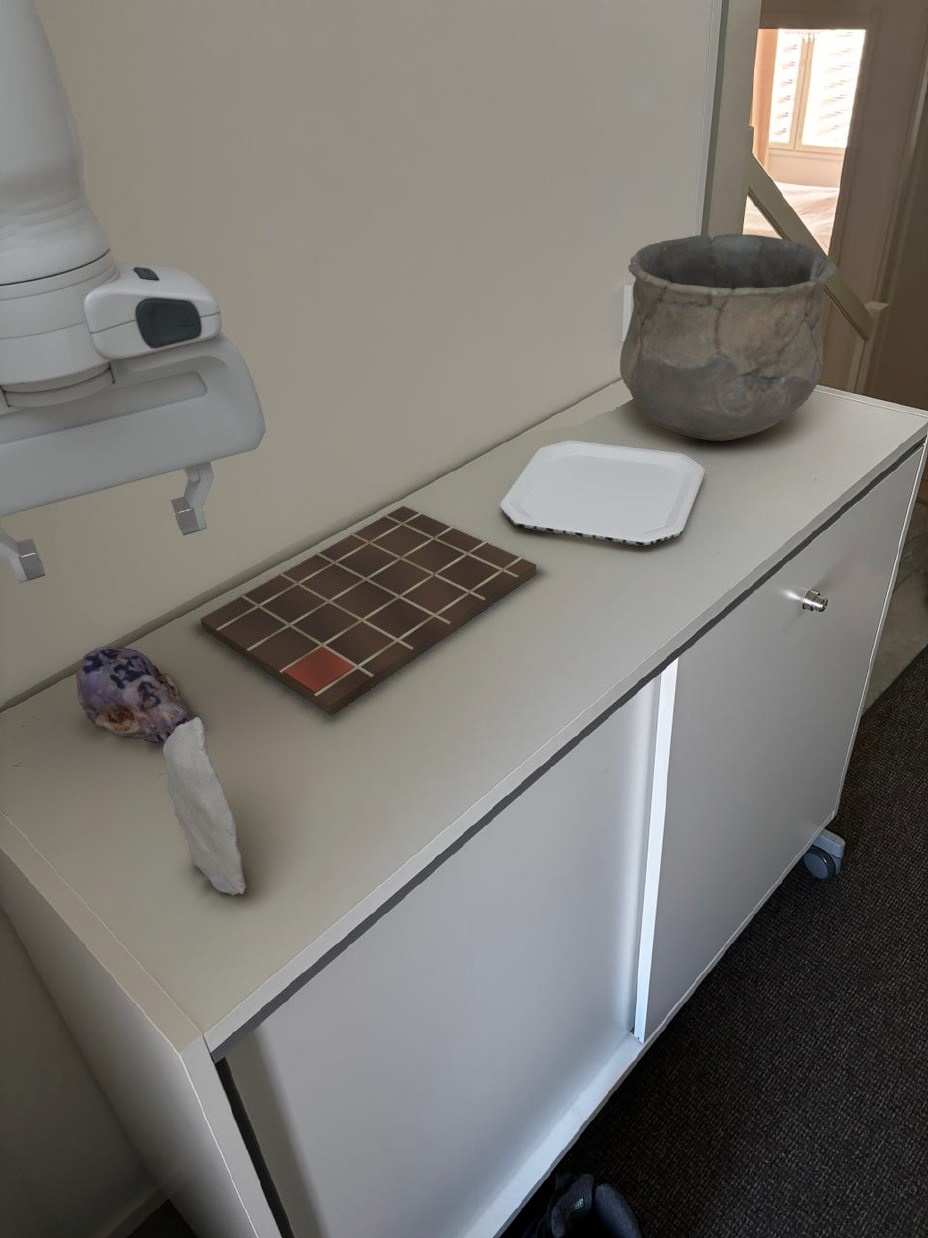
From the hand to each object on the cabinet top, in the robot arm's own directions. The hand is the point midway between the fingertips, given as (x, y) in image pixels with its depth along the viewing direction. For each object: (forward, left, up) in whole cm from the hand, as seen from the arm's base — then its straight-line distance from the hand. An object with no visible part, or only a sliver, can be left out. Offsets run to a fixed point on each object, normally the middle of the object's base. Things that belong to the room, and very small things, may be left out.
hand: (114, 551), depth 55 cm
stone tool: (-1, -4, -26) cm, 26 cm away
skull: (0, +17, -26) cm, 31 cm away
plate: (+56, +19, -26) cm, 65 cm away
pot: (+80, +25, -26) cm, 88 cm away
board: (+25, +19, -26) cm, 41 cm away
